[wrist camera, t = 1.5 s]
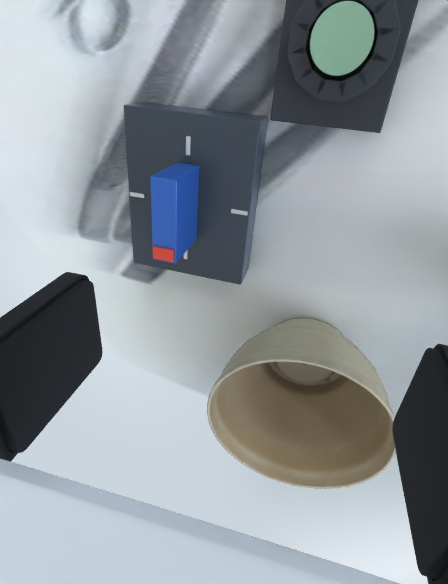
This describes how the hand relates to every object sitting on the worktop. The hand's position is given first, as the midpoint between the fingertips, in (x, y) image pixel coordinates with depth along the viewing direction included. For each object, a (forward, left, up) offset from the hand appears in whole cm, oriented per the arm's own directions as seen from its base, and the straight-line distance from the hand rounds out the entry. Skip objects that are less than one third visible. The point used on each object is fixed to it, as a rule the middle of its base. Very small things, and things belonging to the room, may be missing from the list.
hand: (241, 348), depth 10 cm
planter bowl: (+19, +4, -24) cm, 31 cm away
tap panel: (+3, -9, -24) cm, 26 cm away
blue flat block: (+3, -9, -21) cm, 23 cm away
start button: (-9, +1, -21) cm, 22 cm away
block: (-9, +1, -24) cm, 26 cm away
